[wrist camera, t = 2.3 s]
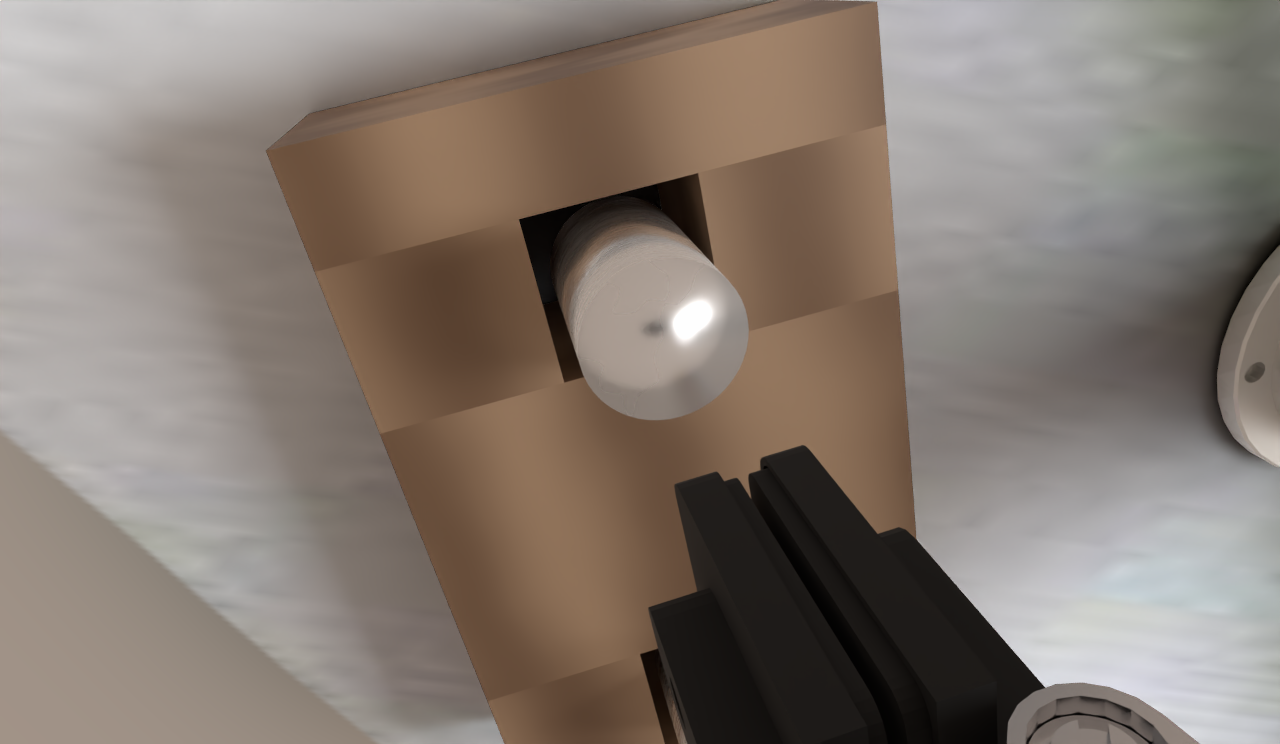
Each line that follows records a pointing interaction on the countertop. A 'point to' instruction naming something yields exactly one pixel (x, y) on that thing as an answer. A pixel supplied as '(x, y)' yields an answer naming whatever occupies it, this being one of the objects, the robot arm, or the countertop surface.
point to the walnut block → (542, 347)
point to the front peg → (646, 310)
